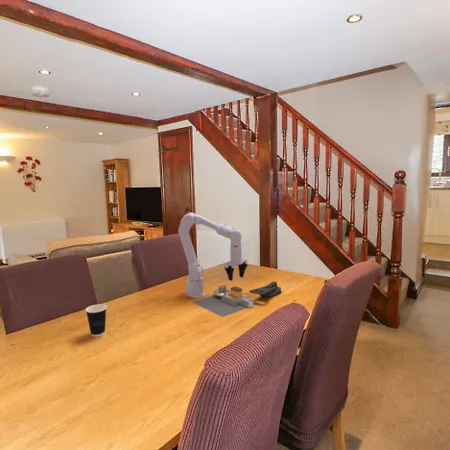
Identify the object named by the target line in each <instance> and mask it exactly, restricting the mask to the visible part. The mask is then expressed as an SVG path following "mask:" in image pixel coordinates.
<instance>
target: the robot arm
mask: <svg viewBox="0 0 450 450" xmlns="http://www.w3.org/2000/svg"><path fill="white" fill-rule="evenodd" d="M194 225H195V226H197V225H203V226H205V227H207V228H210V229H212V230H215V232H216V234H217V235H219V236H222V237H224V238H226V239H229V240H230V245H229V246H230V249H229V253H230V260H229V261H228V262H226V263H224V264H223V268H224V270H225V272H226V275H227V277H228V281H230V282H233V280H234V279H233V278H234V271H235V268H234V267H236V266H237V267H238V275H239V277H240V278H244V277H245V276H244V275H245V271H246V269H247V267H248V264H247V263H248V259H246V258H243V259H242V233H241V231H240V230H239V229H235V228H234V227H230V226H228V225H227V223H220V224H218V223H217V222H214V221H213V220H210V219H209V218H206V217H204V216H203V215H200V214H197V213H195V212H191V211H190V212H188V213H186V214H185V215H184V216H183V217H182V218H181V219H180V223H179V227H178V231H177V232H178V235H179V239H180V242H181V245H182V249H183V251H184V255H185V258H186V261H187V268H188V278H187V279H186V282H185V293H184V294H185V295H186V296H188V297H190V298H193V299H197V298H198V299H199V298H202V297H204V296H207V293H204V278H203V276H202V274H203V273H204V269H203V267H202V266H201V264H200V262H199V260H198V259H197V256H196V252H195V249H194V248H195V247H194V246H193V243H192V239H191V236H190V233H189V232H190V230H191V229H192V227H193V226H194Z"/></svg>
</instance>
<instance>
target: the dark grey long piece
mask: <svg viewBox="0 0 450 450" xmlns="http://www.w3.org/2000/svg"><path fill="white" fill-rule="evenodd" d="M249 293H251V294H254V295H259V297H262V298H265V299H272V298H274V297H277V296H278V295H280V294H282V287H280V286H278V282H277V281H270V283H268V284H267V285H264V286H261V287H257V288H254V289H250V290H249ZM279 293H280V294H279ZM276 295H277V296H276Z"/></svg>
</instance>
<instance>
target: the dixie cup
mask: <svg viewBox="0 0 450 450" xmlns="http://www.w3.org/2000/svg"><path fill="white" fill-rule="evenodd" d="M107 308H108V307H107V305H106V304H99V303H98V304H93V305H89V306H88V307H86V308H85V309H84V310H85V312H86V317H87V322H88V327H89V332H90V335H91V337H93V336H94V338H98V336H99V337H102V336H104V335H105V331H106V321H107V319H106V315H107Z"/></svg>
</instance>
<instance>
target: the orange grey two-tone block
mask: <svg viewBox="0 0 450 450" xmlns="http://www.w3.org/2000/svg"><path fill="white" fill-rule="evenodd" d="M230 290H231V296H232V297H234V298H239V297H242V293H243V287H238V286H236V285H235V286H232V287H230Z"/></svg>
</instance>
